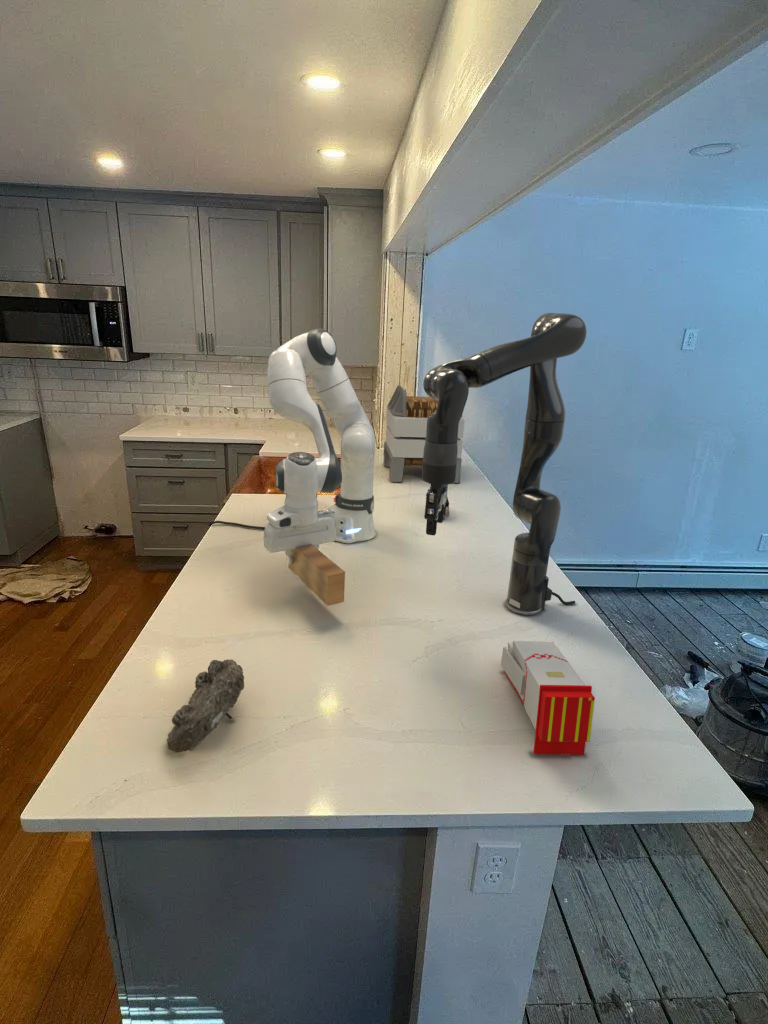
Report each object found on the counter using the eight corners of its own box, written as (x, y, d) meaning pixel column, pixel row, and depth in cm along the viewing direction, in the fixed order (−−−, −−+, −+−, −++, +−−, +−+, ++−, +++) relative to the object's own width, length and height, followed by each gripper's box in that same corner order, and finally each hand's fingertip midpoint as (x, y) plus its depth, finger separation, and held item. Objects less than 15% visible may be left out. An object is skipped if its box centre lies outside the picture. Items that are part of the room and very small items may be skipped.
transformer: (382, 463, 289) (386, 382, 275) (445, 464, 293) (451, 384, 279) (390, 482, 257) (394, 392, 243) (460, 483, 261) (468, 394, 247)
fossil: (192, 660, 117) (244, 628, 112) (224, 691, 120) (276, 661, 115) (142, 746, 98) (202, 712, 93) (182, 779, 101) (242, 748, 96)
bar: (288, 567, 159) (287, 540, 156) (303, 564, 161) (303, 537, 158) (327, 605, 139) (327, 575, 137) (344, 601, 142) (345, 571, 139)
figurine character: (449, 525, 213) (445, 507, 227) (451, 507, 210) (447, 490, 224) (431, 524, 213) (428, 507, 227) (433, 506, 210) (430, 490, 223)
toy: (549, 624, 127) (604, 693, 98) (544, 678, 130) (596, 762, 100) (496, 622, 127) (535, 692, 97) (491, 677, 129) (528, 761, 100)
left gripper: (330, 505, 159) (329, 550, 164) (260, 515, 149) (261, 563, 153) (341, 512, 154) (339, 558, 159) (269, 523, 144) (270, 572, 148)
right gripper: (451, 470, 118) (445, 541, 124) (461, 454, 131) (455, 520, 137) (416, 466, 120) (411, 536, 126) (429, 451, 133) (425, 516, 139)
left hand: (300, 560), depth 156 cm, fingers closed on bar, 5 cm apart
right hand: (434, 528), depth 131 cm, fingers open, 8 cm apart
